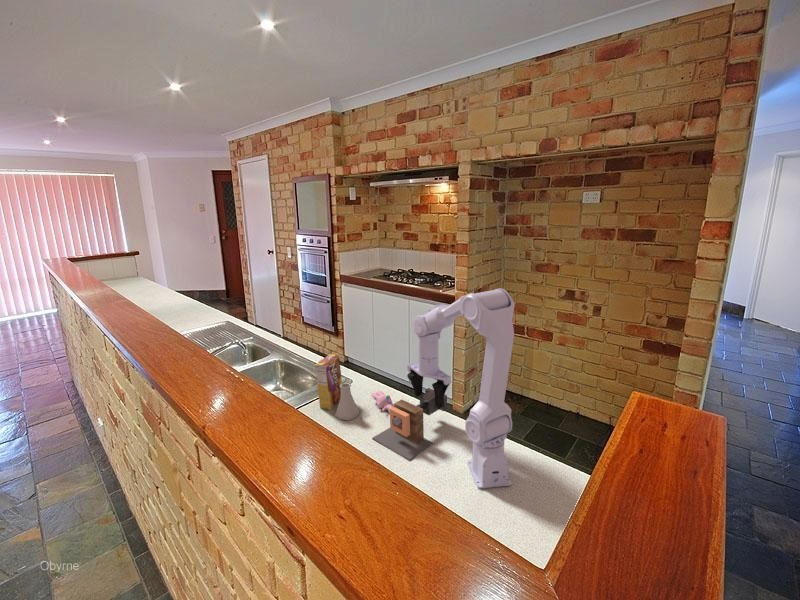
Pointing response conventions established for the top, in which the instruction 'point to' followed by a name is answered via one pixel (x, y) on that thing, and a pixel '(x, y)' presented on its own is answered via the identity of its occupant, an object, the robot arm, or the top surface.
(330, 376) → the candy box
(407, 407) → the bracket
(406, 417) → the spacer
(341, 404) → the flask
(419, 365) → the robot arm
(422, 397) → the shaft
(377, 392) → the pink toy animal
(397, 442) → the mat
